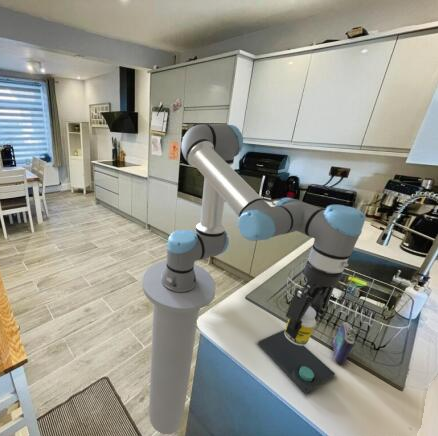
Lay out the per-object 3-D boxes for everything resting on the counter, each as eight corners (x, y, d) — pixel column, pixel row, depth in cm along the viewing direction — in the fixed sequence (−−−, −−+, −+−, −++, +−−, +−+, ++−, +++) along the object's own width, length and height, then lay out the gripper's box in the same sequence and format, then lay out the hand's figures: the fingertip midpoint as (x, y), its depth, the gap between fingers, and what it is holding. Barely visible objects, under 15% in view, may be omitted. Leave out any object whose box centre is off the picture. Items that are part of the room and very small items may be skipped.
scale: (256, 344, 76) (258, 338, 75) (284, 332, 81) (286, 325, 80) (305, 397, 63) (309, 390, 61) (335, 378, 67) (339, 371, 66)
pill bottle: (282, 339, 71) (292, 311, 66) (285, 325, 75) (294, 298, 71) (306, 350, 68) (319, 322, 63) (308, 335, 72) (319, 307, 68)
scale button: (296, 372, 66) (297, 368, 65) (303, 368, 67) (305, 364, 66) (307, 383, 63) (308, 380, 63) (315, 378, 64) (316, 375, 64)
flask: (332, 339, 79) (344, 316, 74) (343, 344, 77) (356, 320, 73) (333, 362, 71) (347, 337, 67) (346, 368, 70) (360, 343, 66)
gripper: (314, 284, 54) (287, 353, 63) (363, 265, 61) (332, 330, 71) (284, 265, 60) (264, 331, 70) (333, 250, 67) (308, 312, 77)
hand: (298, 330), depth 70 cm, fingers closed on pill bottle, 6 cm apart
